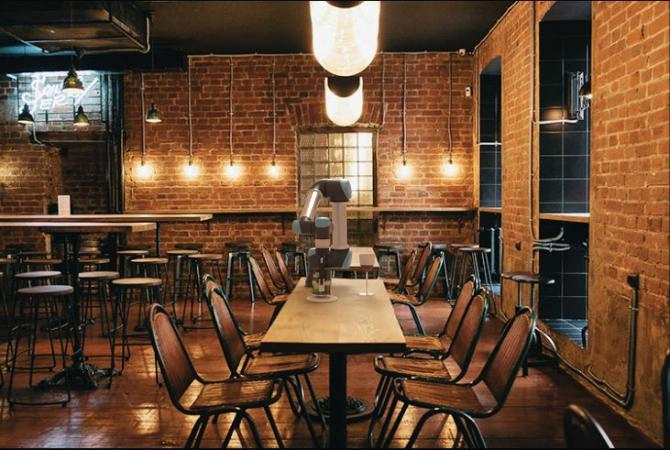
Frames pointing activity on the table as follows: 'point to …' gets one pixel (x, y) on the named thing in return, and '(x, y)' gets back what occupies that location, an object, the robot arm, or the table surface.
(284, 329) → the table surface
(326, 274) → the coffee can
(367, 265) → the wineglass
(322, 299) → the plate
